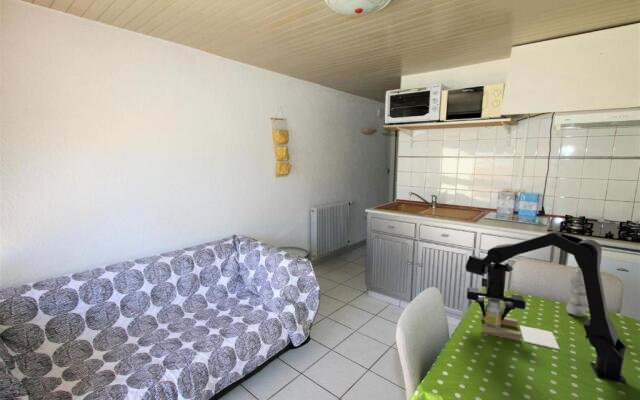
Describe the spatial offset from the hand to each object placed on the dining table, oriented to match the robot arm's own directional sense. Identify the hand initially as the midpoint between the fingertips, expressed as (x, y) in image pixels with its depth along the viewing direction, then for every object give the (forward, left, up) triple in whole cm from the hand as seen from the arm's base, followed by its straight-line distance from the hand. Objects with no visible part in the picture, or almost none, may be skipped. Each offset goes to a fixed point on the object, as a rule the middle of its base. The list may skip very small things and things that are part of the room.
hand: (492, 318), depth 115 cm
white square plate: (0, -14, -4) cm, 15 cm away
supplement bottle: (0, 0, -3) cm, 3 cm away
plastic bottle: (+26, -31, -4) cm, 41 cm away
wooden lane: (0, -2, -4) cm, 4 cm away
